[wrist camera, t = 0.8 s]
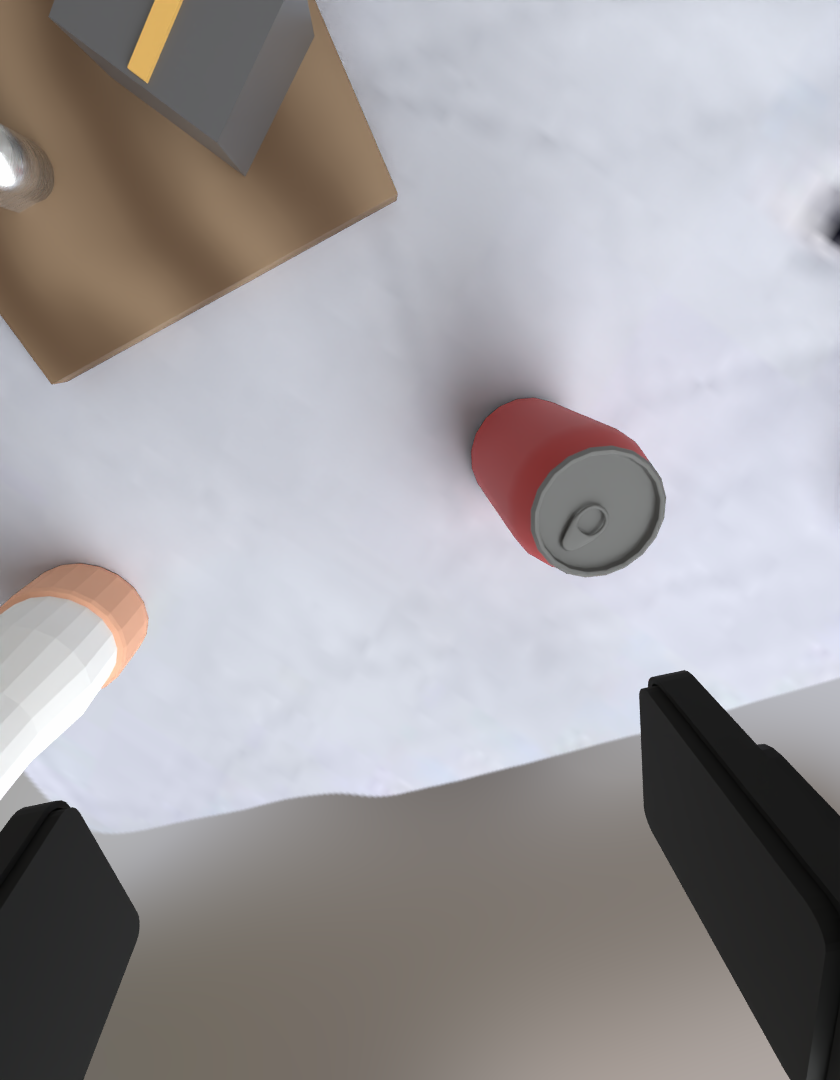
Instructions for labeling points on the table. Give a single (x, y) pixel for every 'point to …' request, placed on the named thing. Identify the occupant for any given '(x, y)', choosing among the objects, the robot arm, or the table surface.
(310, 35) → the grey cube with stripe
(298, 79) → the base plate
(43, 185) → the d shaft
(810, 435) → the table surface
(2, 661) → the pepper shaker
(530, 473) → the beer can
